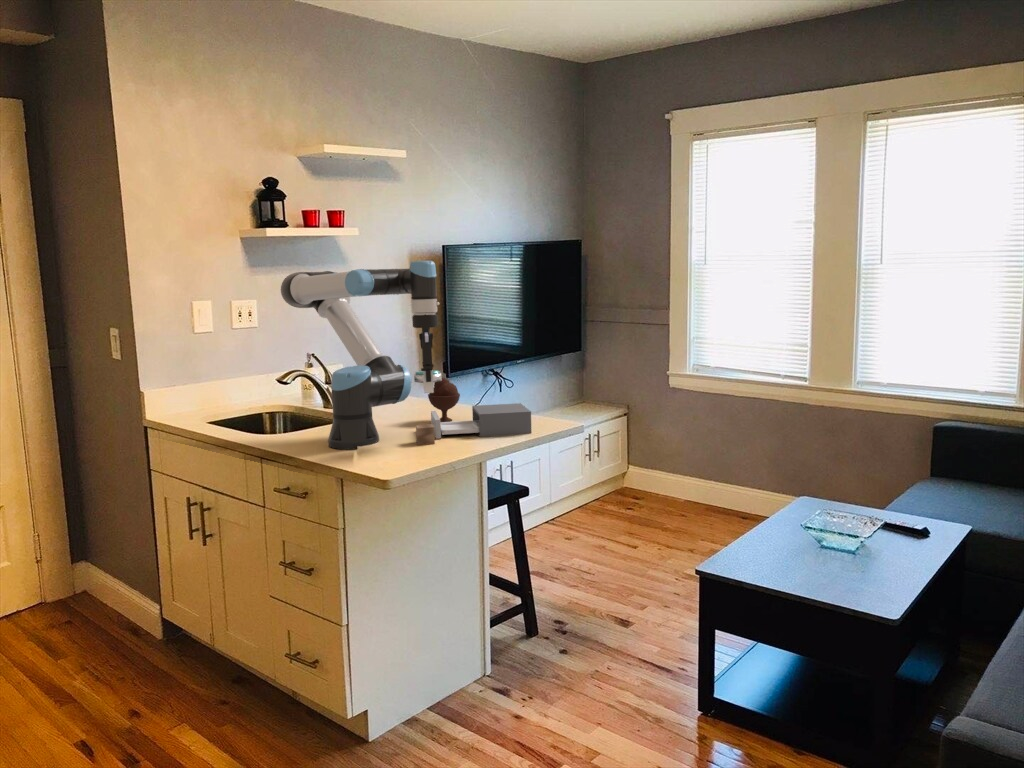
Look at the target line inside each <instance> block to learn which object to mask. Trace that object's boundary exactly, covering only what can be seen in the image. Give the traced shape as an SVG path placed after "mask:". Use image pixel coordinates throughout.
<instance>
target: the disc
mask: <svg viewBox="0 0 1024 768" xmlns="http://www.w3.org/2000/svg"><path fill="white" fill-rule="evenodd" d="M432 370H433V383H435V382H439V381H442V378H443V377H442V372H441V371H440V370H434V369H432ZM413 377H414V378H413V379H414V380H413V381H414V383H422V384H423V383H424V375H423V371H421V370H418V371H415V373H414V374H413Z"/></svg>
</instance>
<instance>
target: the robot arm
mask: <svg viewBox="0 0 1024 768" xmlns="http://www.w3.org/2000/svg"><path fill="white" fill-rule="evenodd" d="M437 277H438V275H437V269H436V263H435V262H434V261H433V260H416V261H415V260H413V261H410V263H409V268H379V269H377V268H376V269H373V268H370V269H367V268H366V269H364V268H358V269H351V270H350V271H349V270H348V271H341V272H338V271H330V270H324V271H298V272H297V271H296V272H294V273H291V274H289V275H287V276H286V277H285V278H284V279H283V280H282V282H281V284H280V294H281V297H282V299H283V301H285V303H286V304H288V305H289V306H291V307H293V308H297V309H309V308H310V309H315V311H316V312H317V314H318V315H319V317H321V318H323V319H327V321H328V322H329V324H330V325H331V327H332V329H333V330H334V332H335V333H336V335H337V336H338V338H339V339H340V341H341V343H342V344H343V346H344V347H345V349H346V350H347V352H348V353H349V355H350V357H352V360H353V361H354V362H355V364H356V365H352V366H346V367H341V368H339V369H337V370H335V371H334V372H333V373H332V375H331V379H330V380H331V381H330V388H331V401H332V403H331V404H332V405H331V406H332V419H333V421H332V425H331V428H330V432H329V434H328V435H329V436H328V440H327V441H328V447H329V448H331V447H332V448H331V449H334V448H337V449H336V450H358V447H365V446H371V445H374V444H376V443H379V442H380V435H379V433H378V429H377V427H376V425H375V422H374V418H373V408H375V407H381V406H387V405H395V404H398V403H400V402H403V401H405V400H407V398H409V395H410V393H411V390H412V383H413V382H412V376H411V373H410V370H409V369H408V368H407V367H406V366H405V365H401V364H395V362H394V361H393V359H392V358H391V356H389V355H387V354H383V352H381V350H380V349H379V347H378V345H377V344H376V342H375V341H374V339H373V338H372V336H371V335H370V333H369V332H368V330H367V328H365V326H364V324H363V323H362V322H361V319H360V318H359V317H358V316H357V314H356V312H355V311H354V310H353V308H352V307H351V305H350V303H351V298H353V297H367V296H370V297H371V296H385V295H386V296H387V295H388V296H389V295H391V296H392V295H394V296H395V295H397V296H398V295H409V294H411V296H410V297H411V299H410V303H411V313H412V314H413V315H412V317H411V318H412V328H414V329H421V332H420V333H419V334H418V335H419V340H420V341H419V342H420V343H419V344H420V349H421V351H422V353H421V354H422V357H421V359H422V361H421V363H422V368H421V370H420V371H423V375H424V383H422V384H423V392H424V394H429V393H434V382H433V370H434V369H433V368H434V367H435V365H434V363H433V351H432V349H433V343H434V342H433V340H434V334H433V333H431V328H438V327H439V315H438V314H436V313H437V312H438V306H439V305H440V302H439V301H438V291H437V290H438V289H437V288H438V287H437Z"/></svg>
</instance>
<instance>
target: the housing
mask: <svg viewBox="0 0 1024 768" xmlns="http://www.w3.org/2000/svg"><path fill="white" fill-rule="evenodd" d="M471 409H472V411H471V412H472V421H474V420H479V425H480V432H479V433H477V435H478V437H480V438H482V437H483V438H485V437H500V436H502V437H504V436H514V435H529V434H530V435H531V434H532V411H531V410H530V409H529V408H527V407H526V406H525V405H523V403H521V402H518V403H503V404H502V403H498V404H482V405H472V406H471Z"/></svg>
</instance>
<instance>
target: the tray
mask: <svg viewBox="0 0 1024 768" xmlns="http://www.w3.org/2000/svg"><path fill="white" fill-rule="evenodd" d="M440 418H441V417H440V415H439V414H438V413H437V410H430V423H431V424H433V426H434V437H435V440H436V439H439V440H440V439H442V436H443V435H458V434H461V435H462V434H474V433H475V434H478V433H479V432H480V425H479V420H474V421H473V420H461V421H460V420H458V421H451V422H440Z"/></svg>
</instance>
